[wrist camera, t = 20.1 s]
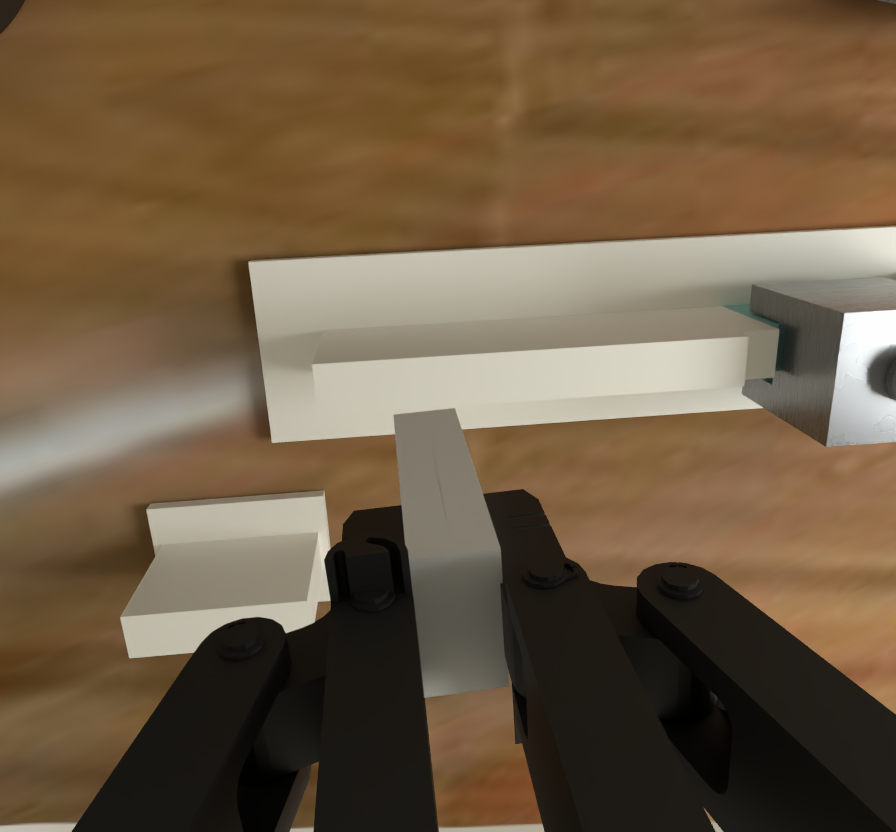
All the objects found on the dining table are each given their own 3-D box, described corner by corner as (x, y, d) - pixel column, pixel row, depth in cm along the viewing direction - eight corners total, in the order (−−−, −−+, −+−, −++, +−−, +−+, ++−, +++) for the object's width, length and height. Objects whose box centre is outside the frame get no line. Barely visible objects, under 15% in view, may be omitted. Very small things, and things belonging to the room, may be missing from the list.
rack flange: (250, 260, 38) (208, 289, 29) (919, 224, 41) (1081, 240, 31) (274, 437, 41) (242, 517, 32) (891, 394, 44) (1031, 455, 35)
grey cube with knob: (751, 284, 38) (862, 318, 29) (880, 276, 38) (1026, 308, 30) (741, 393, 40) (842, 456, 31) (863, 385, 40) (996, 445, 32)
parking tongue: (150, 503, 42) (100, 576, 34) (324, 490, 43) (312, 559, 35) (170, 607, 44) (127, 697, 37) (335, 593, 45) (326, 678, 37)
